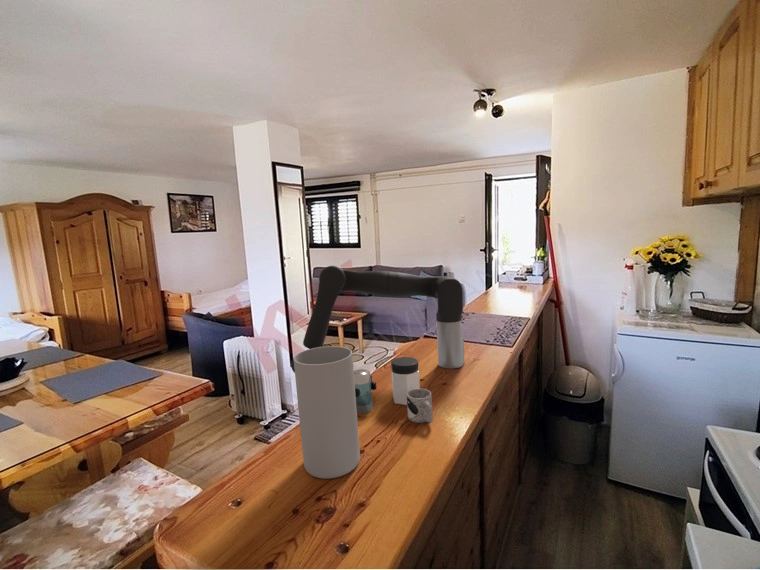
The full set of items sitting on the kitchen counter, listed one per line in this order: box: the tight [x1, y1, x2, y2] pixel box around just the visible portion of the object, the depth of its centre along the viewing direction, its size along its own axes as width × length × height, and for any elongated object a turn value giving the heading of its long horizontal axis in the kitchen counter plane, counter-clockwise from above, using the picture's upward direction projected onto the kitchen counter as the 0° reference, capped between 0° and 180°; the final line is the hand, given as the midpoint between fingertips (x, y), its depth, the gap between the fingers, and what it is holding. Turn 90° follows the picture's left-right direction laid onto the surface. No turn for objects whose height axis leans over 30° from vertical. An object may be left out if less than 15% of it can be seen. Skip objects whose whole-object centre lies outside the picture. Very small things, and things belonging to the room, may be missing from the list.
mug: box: [406, 388, 434, 424], centre depth 99 cm, size 10×7×7 cm, turn 21°
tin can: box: [354, 368, 374, 415], centre depth 107 cm, size 6×6×11 cm
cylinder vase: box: [293, 345, 361, 480], centre depth 82 cm, size 12×12×25 cm
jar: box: [390, 356, 421, 406], centre depth 112 cm, size 9×8×12 cm
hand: (366, 389), depth 105 cm, fingers closed on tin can, 5 cm apart
